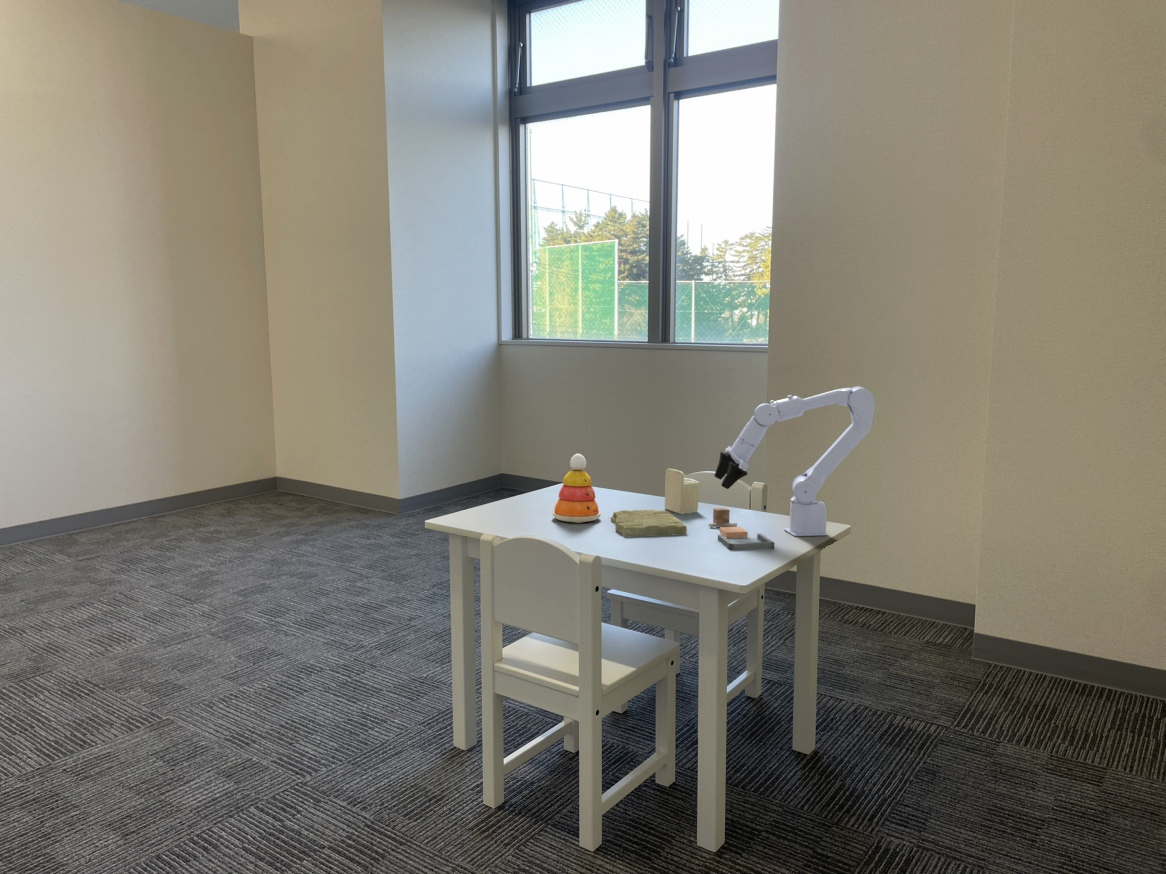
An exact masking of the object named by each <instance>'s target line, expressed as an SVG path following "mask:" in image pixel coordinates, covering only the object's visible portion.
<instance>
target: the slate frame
mask: <svg viewBox="0 0 1166 874" xmlns="http://www.w3.org/2000/svg"><path fill="white" fill-rule="evenodd" d="M756 540H757V542H755V541H753V542H731V540H729V538H725V537H724V536H723V535H721V534H717V542H719V543H720V542H721V543H722V544H721V543H720V544H721V545H723V546H724V547H725V546H726V547H727V548H726V547H725V548H726V549H728V550H729V551H736V550H737V551H740V550H771V549H772V550H773V549H775V542H774V541H773V540H771V539H770V538H768V537H767V536H765V535H764V534H762V533H757V534H756ZM760 541H761V542H760Z"/></svg>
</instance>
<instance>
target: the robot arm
mask: <svg viewBox="0 0 1166 874" xmlns="http://www.w3.org/2000/svg"><path fill="white" fill-rule="evenodd" d="M874 397H875V396H874V395H873V393H872V392H871V391H870V390H869V389H867V388H866V387H863V386H860V385H856V386H852V387H843V388H838V389H834V390H830V391H827V392H823V393H820V394H819V393H818V394H816V395H813V396H809V397H806V398H801V397H799V396H798V395H794V396H793V395H792V394H789V395H787V396H786V398H783V399H779V400H778V399H777V400H775V401H774V400H773V399H771V400H769V403H761V404H759V405H758V406H757V407H755V409H754V413H753V415H752V416H751V417H750V418H749V421H748V422H747V423H746V425H745V426H744V427H743V429H742V430H741V432H740V434H739V435H738V436H737V438H736V440H735V441H734V443H733V444H732V446H730V445H728V446H727V447H726V448H725V449H724V450H725V452H723V451H720V453H719V460H718V464H717V467H716V470H715V473H714V475H713V476H714V477H715V478H717V479H719V481H720V480H722V481H721V485H720V486H721V487H722V488H724V489H727V490H729V489H730V488H731V487H733V485H734V484H735V483H737V481H739V480H741V478H743V477H746V476H747V475H748V474H749V473H748V472H747V470H748V468H749V466H750V465H749V460H750V458H751V456H752V455H753V454H754V452H755V450H756V449H757V447H758V446H759V444H760V443H761V441H762V439H763V438H764V436H765V434H766V432H767V431H768V428H769V427H771V426H773V424H775V422H783V421H786V420H787V421H788V420H791V419H795V418H799V417H800V418H801V417H802V416H803V415H804V413H805V411H807V410H812V409H816V408H821V407H826V406H831V405H838V406H843V407H847V408H849V411H850V417H851V419H850V420H851V424H850V425H849V426H848V427H847V428H846V429H845V430H844V431H843V432H842V434H840V436H838V438H837V439H836V440H835V441H834V442H833V443H832V445H830V447H829V448H828V449H827V450H826V451H825V452H824V454H822V456H820V458H818V460H817V461H816V462H815V463H814V464H813V465H812V466H811V467H810V468H808V469H807V470H806V471H805V472H804V473H803V474H800V475H798V476H796V477H794V479H793V481H792V483H791V488H792V492H793V496H792V497H791V498H790V508H789V511H790V512H789V527H784V528H783V530H784V531H786V532H787V533H789V534H791V535H792V536H794V537H808V536H809V537H811V536H828V533H827V518H828V516H827V515H828V514H827V513H828V511H827V506H826V503H825V502H824V501H821V500H819V501H818V499H817V496H818V492H819V491H820V489H821V487H822V486H823V485H824V483H825V481H826V479H827V478H828V477H829V476H830V475H831V474H832V472H834V470H835V469H836V468H837V467H838V466H839V465H840V464H841V463H842V461H844V460H845V459H846V458H847V456H848V455H849V454H850V453H851V452H852V451H853V450H854V449H855V448H856V447H857V445H858V444H859V443H860V442H861V441H862V440H863V439H864V438H865V436H867V435H868V433H870V432H871V430H872V427H873V420H874V415H875V411H876V410H875V409H876V402H875V398H874Z"/></svg>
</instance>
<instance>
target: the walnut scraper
mask: <svg viewBox="0 0 1166 874" xmlns="http://www.w3.org/2000/svg"><path fill="white" fill-rule="evenodd" d="M712 509H713V513H712V515H713V516H712V517H713V518H712V522H711V523H708V528H709V527H738V526H737V525H738V522H730V513H731V511H730V509H729V508H728V507H714V508H712Z"/></svg>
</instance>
